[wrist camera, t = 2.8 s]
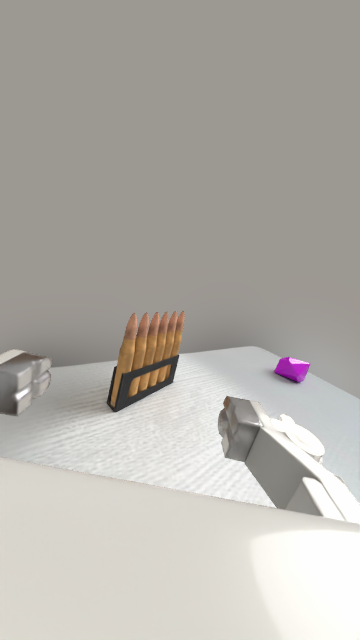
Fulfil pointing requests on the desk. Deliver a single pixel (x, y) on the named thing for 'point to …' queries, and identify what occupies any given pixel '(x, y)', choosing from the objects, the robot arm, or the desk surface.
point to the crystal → (292, 368)
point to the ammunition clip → (145, 359)
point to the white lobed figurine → (300, 437)
